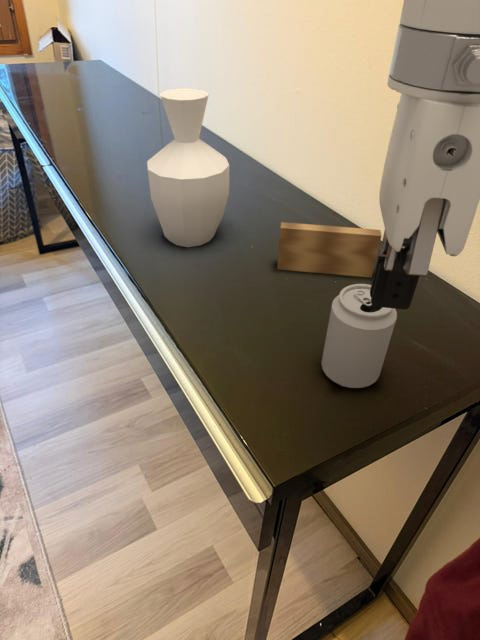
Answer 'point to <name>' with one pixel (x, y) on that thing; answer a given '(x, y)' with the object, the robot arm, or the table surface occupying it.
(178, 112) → the vase
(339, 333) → the can
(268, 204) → the table surface
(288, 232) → the wooden board
